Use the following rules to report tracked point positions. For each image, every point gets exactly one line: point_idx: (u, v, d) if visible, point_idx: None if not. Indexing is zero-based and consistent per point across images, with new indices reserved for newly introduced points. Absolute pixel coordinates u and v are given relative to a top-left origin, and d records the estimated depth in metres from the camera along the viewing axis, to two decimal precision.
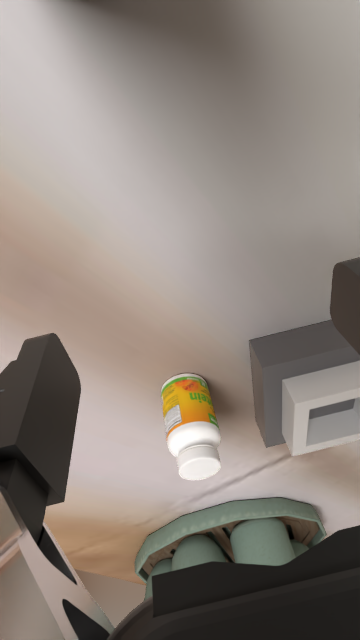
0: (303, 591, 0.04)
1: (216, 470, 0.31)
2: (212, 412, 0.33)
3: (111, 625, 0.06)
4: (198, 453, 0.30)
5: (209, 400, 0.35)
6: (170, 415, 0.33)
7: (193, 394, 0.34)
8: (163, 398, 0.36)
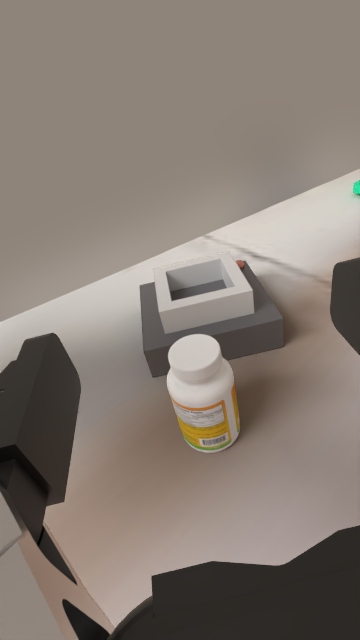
0: (303, 591, 0.04)
1: (201, 336, 0.26)
2: None
3: (111, 625, 0.06)
4: None
5: None
6: (182, 417, 0.26)
7: None
8: (197, 441, 0.27)
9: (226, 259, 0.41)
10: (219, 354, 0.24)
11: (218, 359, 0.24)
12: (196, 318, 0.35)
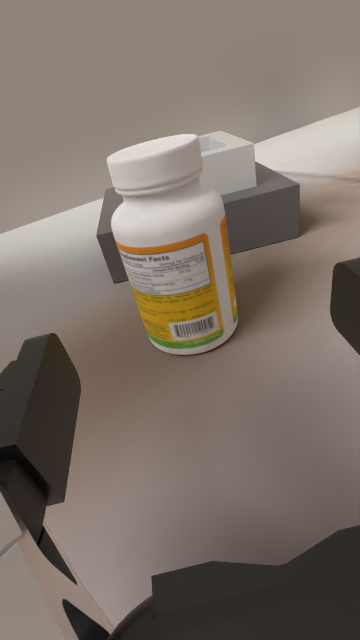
0: (303, 591, 0.04)
1: (167, 137, 0.15)
2: None
3: (111, 625, 0.06)
4: None
5: None
6: (138, 281, 0.15)
7: None
8: (167, 330, 0.17)
9: (216, 135, 0.30)
10: (196, 142, 0.13)
11: (194, 149, 0.13)
12: None
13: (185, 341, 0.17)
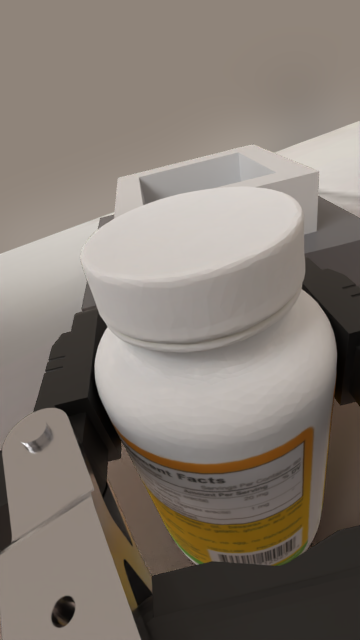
0: (303, 591, 0.04)
1: (215, 190, 0.07)
2: None
3: None
4: None
5: None
6: (151, 485, 0.07)
7: None
8: (203, 553, 0.09)
9: (250, 151, 0.22)
10: (302, 222, 0.05)
11: (301, 241, 0.05)
12: None
13: None
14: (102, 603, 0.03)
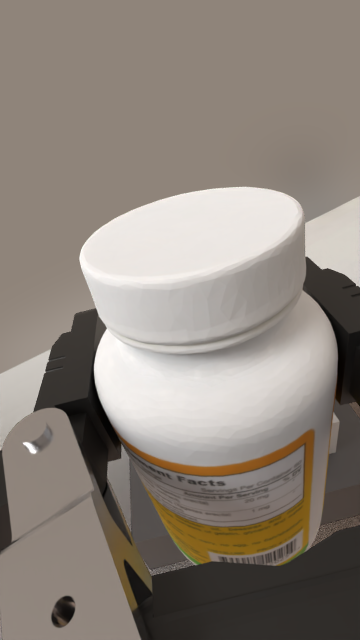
0: (303, 591, 0.04)
1: (215, 191, 0.07)
2: None
3: None
4: None
5: None
6: (150, 487, 0.07)
7: None
8: (203, 555, 0.09)
9: None
10: (303, 223, 0.05)
11: (301, 242, 0.05)
12: None
13: None
14: (102, 603, 0.03)
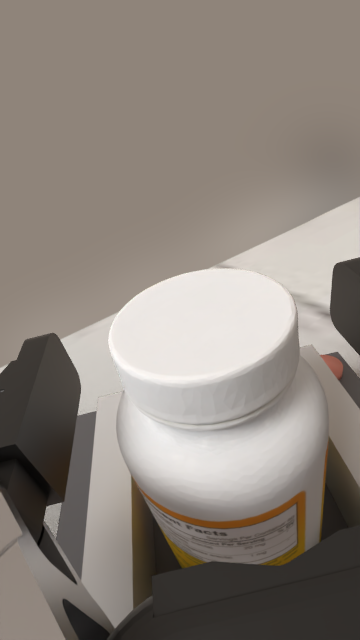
0: (303, 591, 0.04)
1: (224, 272, 0.08)
2: None
3: (111, 625, 0.06)
4: None
5: None
6: (162, 527, 0.08)
7: None
8: None
9: None
10: (296, 322, 0.06)
11: (293, 341, 0.06)
12: None
13: None
14: None
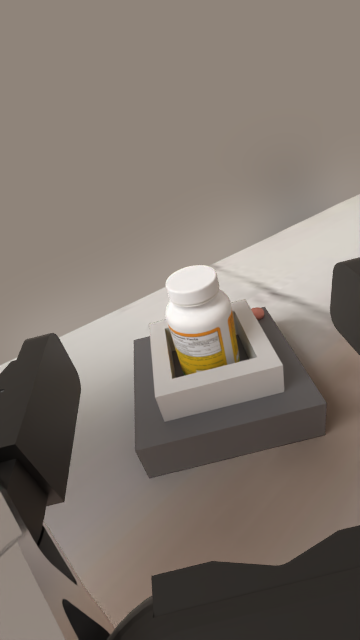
0: (303, 591, 0.04)
1: (199, 266, 0.26)
2: None
3: (111, 625, 0.06)
4: None
5: None
6: (180, 347, 0.27)
7: None
8: None
9: (242, 312, 0.32)
10: (215, 280, 0.24)
11: (214, 284, 0.24)
12: (206, 401, 0.26)
13: None
14: None
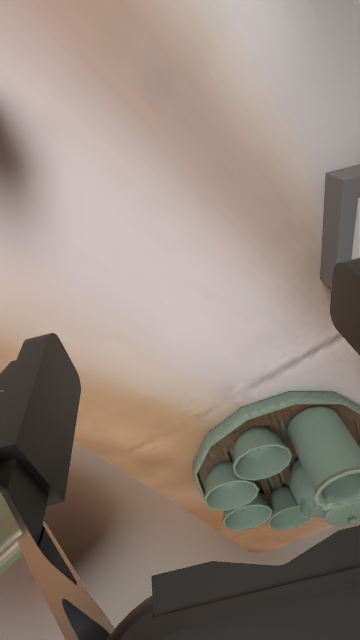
0: (303, 591, 0.04)
1: None
2: None
3: (111, 625, 0.06)
4: None
5: None
6: None
7: None
8: None
9: None
10: None
11: None
12: None
13: None
14: None
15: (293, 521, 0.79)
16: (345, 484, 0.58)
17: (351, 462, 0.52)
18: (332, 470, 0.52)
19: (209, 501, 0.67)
